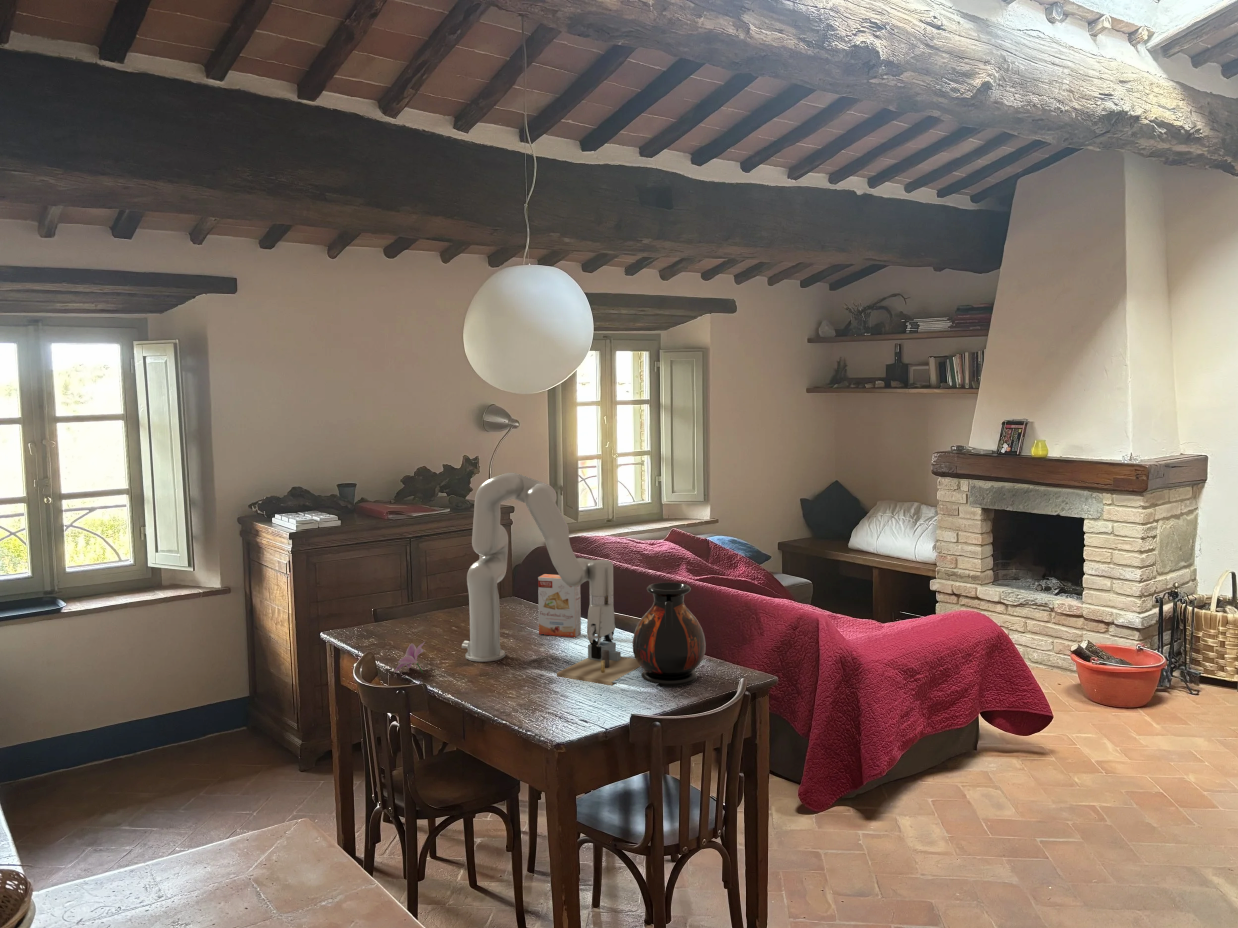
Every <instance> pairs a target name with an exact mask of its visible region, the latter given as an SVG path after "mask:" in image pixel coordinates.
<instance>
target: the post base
mask: <svg viewBox="0 0 1238 928" xmlns="http://www.w3.org/2000/svg"><path fill="white" fill-rule="evenodd" d="M602 660H605V673H601V661H598V660H591V659H588V657H587V658H585V659H582V660H581V661H579V662H576V663H574V664H572V665H570V666H568V667H566V668H564V669H561V670H560V671H557V672H556V677H557V678H562V679H563V678H564V679H569V680H574V681H580V682H587V683H592V684H597V685H599V684H600V685H603V686H605V685H606V686H611V687H613V686H615V685H616V684H617V682H615V681H617V680H618V679H620V678H622V677H624V676H626V675H628V674H629V673H631V672H633V671H634V670H636V669H638V668H641V666H640V665H639V664H638V662H637V661H636V659H635V658H633V657H625V656H621V660H619V661H613V660H609V650H602Z"/></svg>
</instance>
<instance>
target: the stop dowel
mask: <svg viewBox="0 0 1238 928" xmlns="http://www.w3.org/2000/svg"><path fill="white" fill-rule="evenodd" d="M601 673H605V660H601Z"/></svg>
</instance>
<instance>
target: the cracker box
mask: <svg viewBox="0 0 1238 928" xmlns="http://www.w3.org/2000/svg"><path fill="white" fill-rule="evenodd" d="M537 579H538V580H537V582H538V583H537V584H538V593H537V595H538V598H537V599H538V635H541V634H544V635H545V636H555V637H563V638H564V637H566V638H574V637H575V638H576V637H578V636H579V635H581V633H582V627H581V626H582V624H581V623H582V621H581V619H582V617H581V616H582V614H581V613H582V612H581V608H582V607H581V604H582V603H581V602H582V601H581V600H582V599H581V595H582V594H581V588H582V587H581V585H579V586H576V587H571V586H568V585H567V584H565V583H564V582H563V580H562V579H561V577H560V576H559V574H553V573H552V574H547V573H544V574H542V575H540V576H538V577H537Z"/></svg>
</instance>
